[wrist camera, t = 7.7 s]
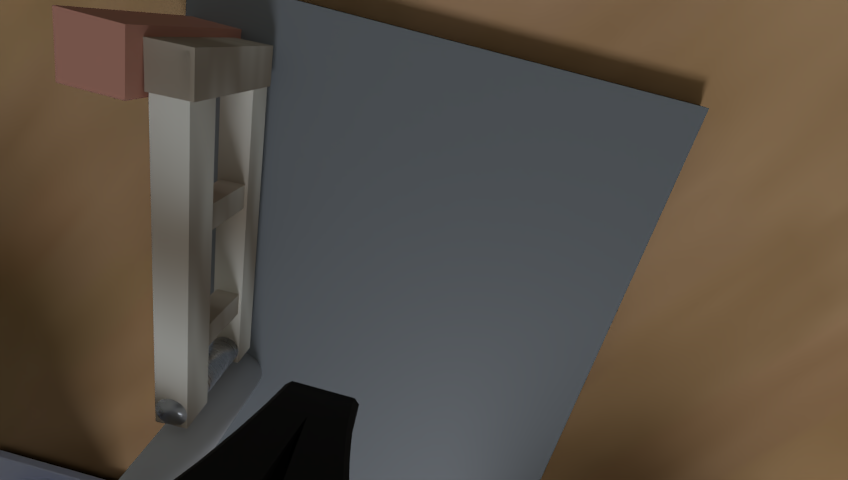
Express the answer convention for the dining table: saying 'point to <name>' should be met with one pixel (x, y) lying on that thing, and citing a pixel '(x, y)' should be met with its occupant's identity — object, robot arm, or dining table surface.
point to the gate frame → (416, 230)
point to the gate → (202, 209)
